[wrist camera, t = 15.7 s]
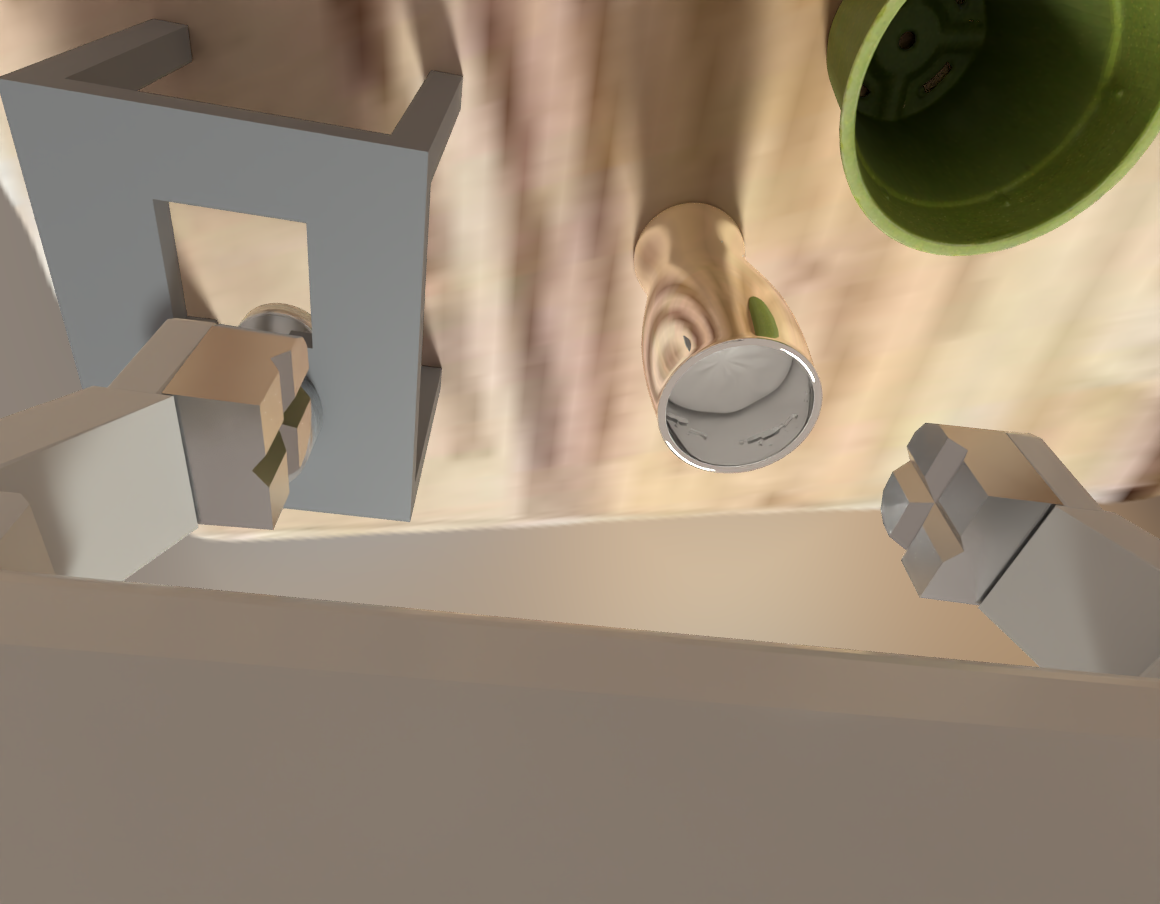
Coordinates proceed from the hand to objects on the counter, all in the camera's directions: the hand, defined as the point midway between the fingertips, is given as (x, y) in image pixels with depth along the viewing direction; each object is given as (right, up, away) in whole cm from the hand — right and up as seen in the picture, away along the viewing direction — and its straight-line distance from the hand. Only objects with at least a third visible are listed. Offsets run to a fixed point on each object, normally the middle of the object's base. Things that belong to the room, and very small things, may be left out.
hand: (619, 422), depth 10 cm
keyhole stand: (-15, +11, +30) cm, 35 cm away
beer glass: (+6, +11, +32) cm, 34 cm away
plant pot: (+14, +19, +25) cm, 35 cm away
